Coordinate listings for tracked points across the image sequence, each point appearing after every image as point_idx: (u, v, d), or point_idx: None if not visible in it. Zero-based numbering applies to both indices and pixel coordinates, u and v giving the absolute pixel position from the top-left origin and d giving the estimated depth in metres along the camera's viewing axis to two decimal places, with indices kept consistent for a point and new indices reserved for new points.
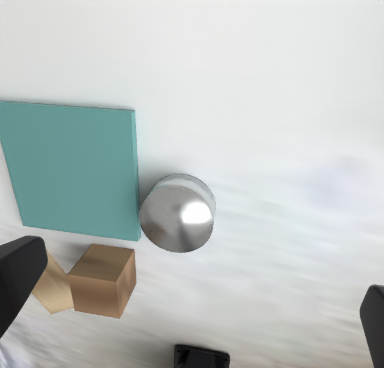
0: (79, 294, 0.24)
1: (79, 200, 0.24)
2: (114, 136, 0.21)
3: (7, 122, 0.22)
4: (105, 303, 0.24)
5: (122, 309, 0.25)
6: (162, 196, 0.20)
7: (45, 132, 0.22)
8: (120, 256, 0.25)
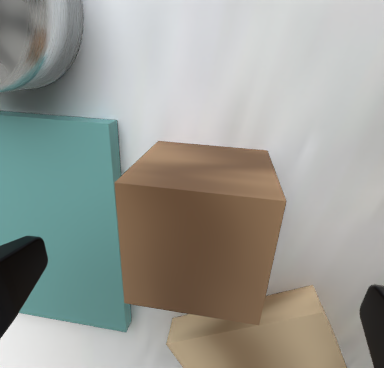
0: (190, 296, 0.08)
1: (46, 228, 0.13)
2: None
3: None
4: (213, 232, 0.07)
5: (266, 188, 0.07)
6: None
7: None
8: None
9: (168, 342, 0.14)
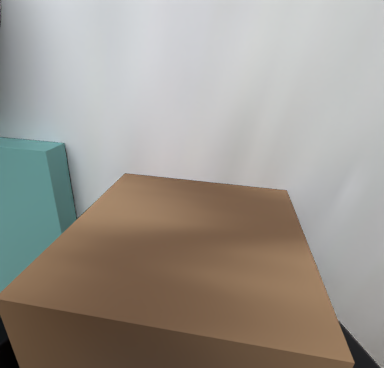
0: None
1: None
2: None
3: None
4: None
5: (303, 307, 0.04)
6: None
7: None
8: None
9: None
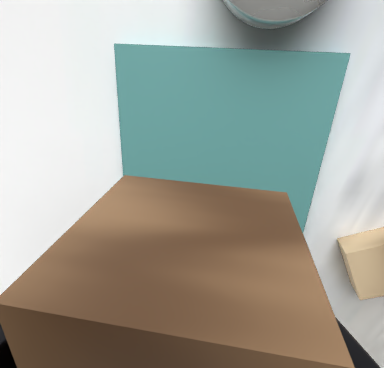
0: None
1: (255, 153, 0.15)
2: (150, 75, 0.15)
3: None
4: None
5: (303, 311, 0.04)
6: None
7: (154, 176, 0.17)
8: None
9: (347, 252, 0.16)
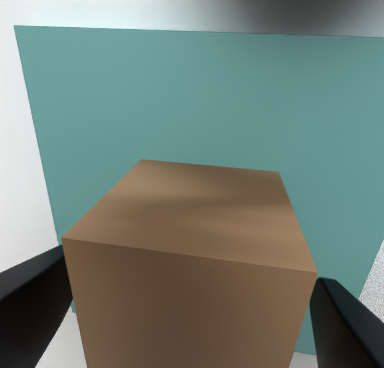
0: None
1: None
2: (83, 83, 0.08)
3: None
4: (207, 308, 0.05)
5: (285, 244, 0.05)
6: None
7: None
8: None
9: None
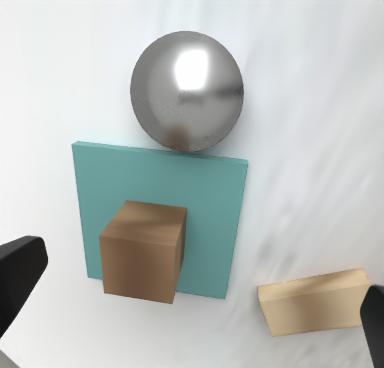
0: (137, 289, 0.16)
1: None
2: (101, 168, 0.18)
3: None
4: (145, 259, 0.15)
5: (170, 238, 0.15)
6: (144, 113, 0.14)
7: None
8: None
9: (260, 300, 0.21)
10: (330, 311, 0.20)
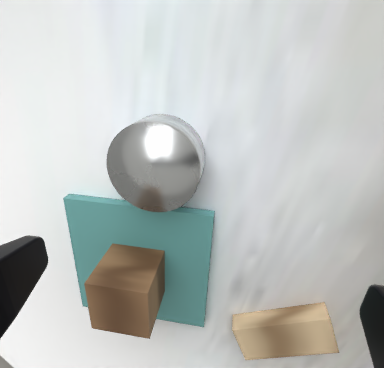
0: (119, 325, 0.19)
1: None
2: (89, 217, 0.21)
3: None
4: (124, 302, 0.18)
5: (144, 285, 0.18)
6: (120, 182, 0.17)
7: None
8: None
9: (233, 329, 0.23)
10: (295, 340, 0.22)
